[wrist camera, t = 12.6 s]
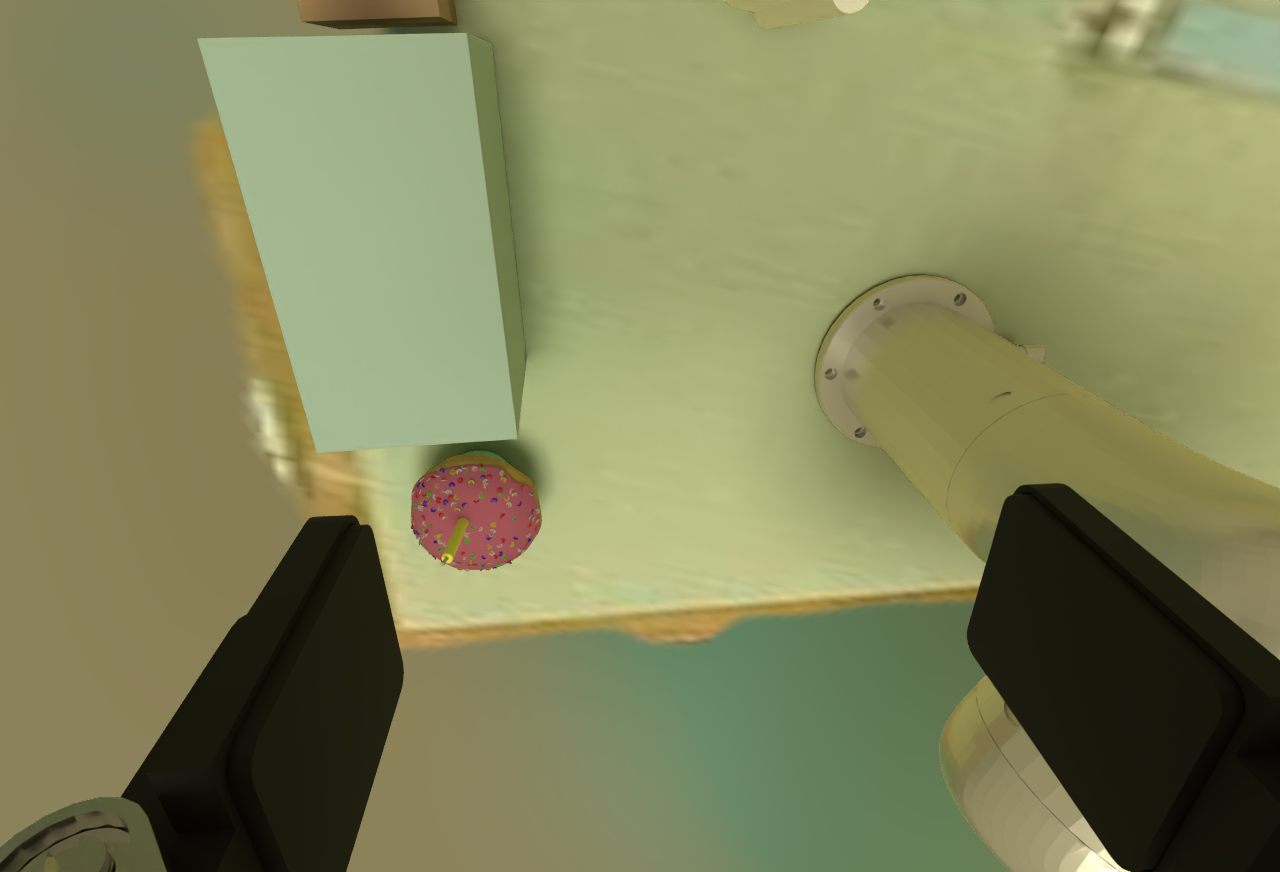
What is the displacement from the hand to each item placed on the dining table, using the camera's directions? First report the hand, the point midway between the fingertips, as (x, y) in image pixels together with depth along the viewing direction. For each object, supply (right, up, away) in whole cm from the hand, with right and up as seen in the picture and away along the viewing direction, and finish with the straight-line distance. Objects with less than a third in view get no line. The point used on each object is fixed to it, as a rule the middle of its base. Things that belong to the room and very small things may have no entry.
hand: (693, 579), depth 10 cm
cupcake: (-12, -1, +39) cm, 41 cm away
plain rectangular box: (-13, +15, +30) cm, 36 cm away
